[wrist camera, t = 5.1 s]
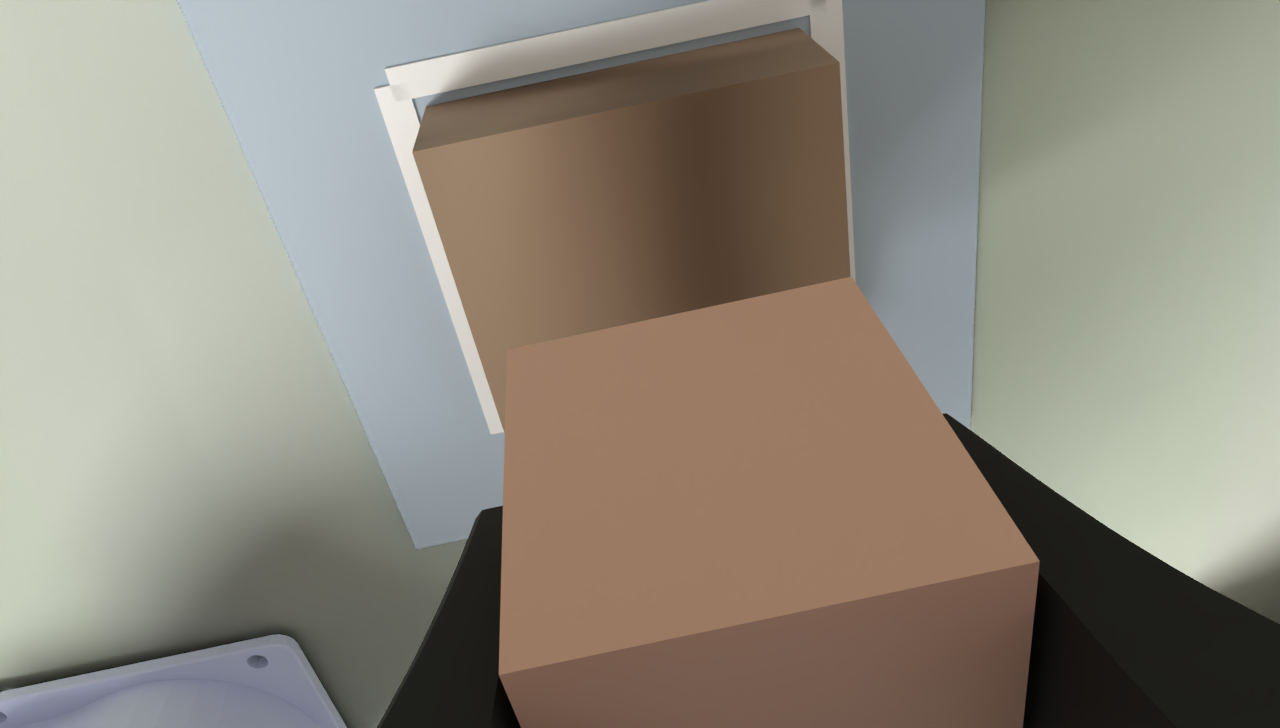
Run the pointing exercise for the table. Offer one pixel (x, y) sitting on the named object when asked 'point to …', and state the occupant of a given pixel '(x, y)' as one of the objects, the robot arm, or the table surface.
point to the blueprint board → (540, 51)
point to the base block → (638, 191)
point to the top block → (752, 531)
